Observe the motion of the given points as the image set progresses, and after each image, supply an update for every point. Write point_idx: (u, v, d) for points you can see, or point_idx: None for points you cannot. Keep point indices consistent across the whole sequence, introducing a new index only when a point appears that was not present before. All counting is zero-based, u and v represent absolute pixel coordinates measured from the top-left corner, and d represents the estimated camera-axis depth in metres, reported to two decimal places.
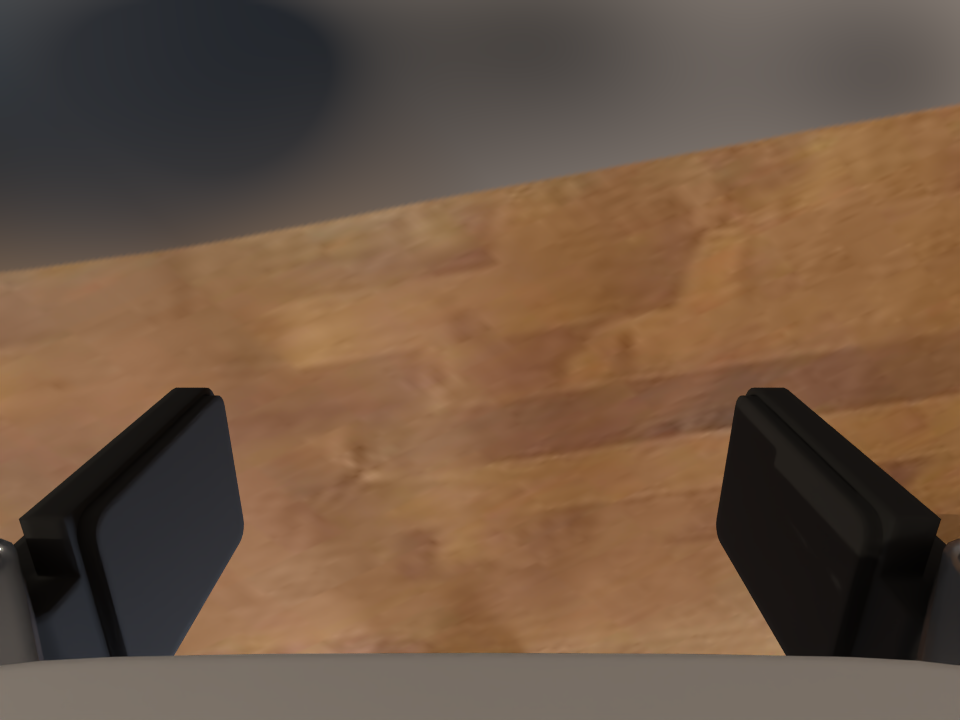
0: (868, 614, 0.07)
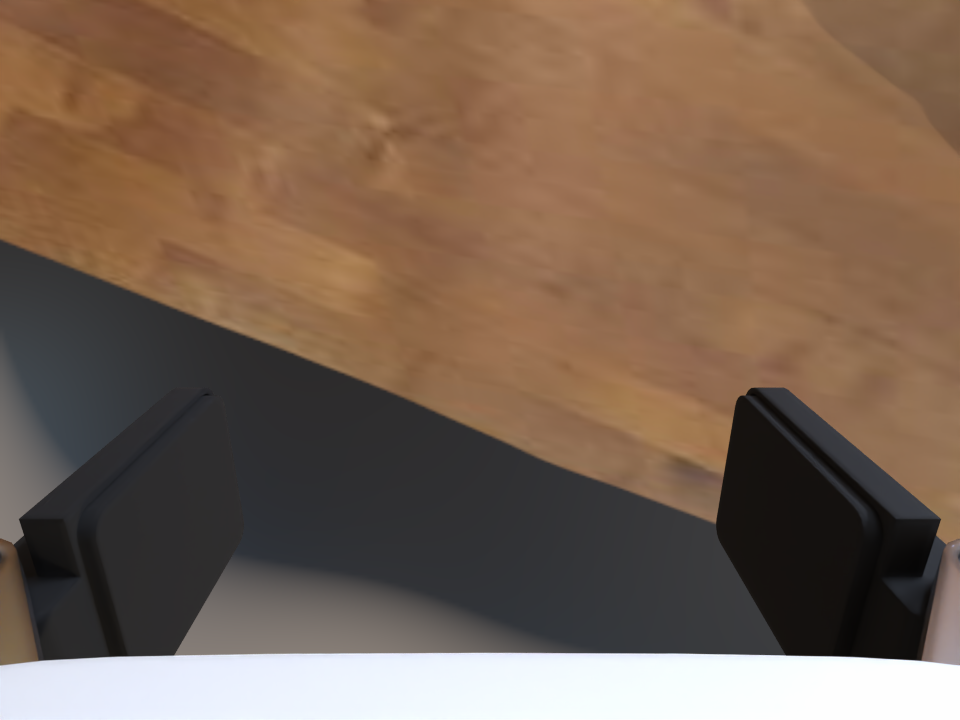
0: (868, 614, 0.07)
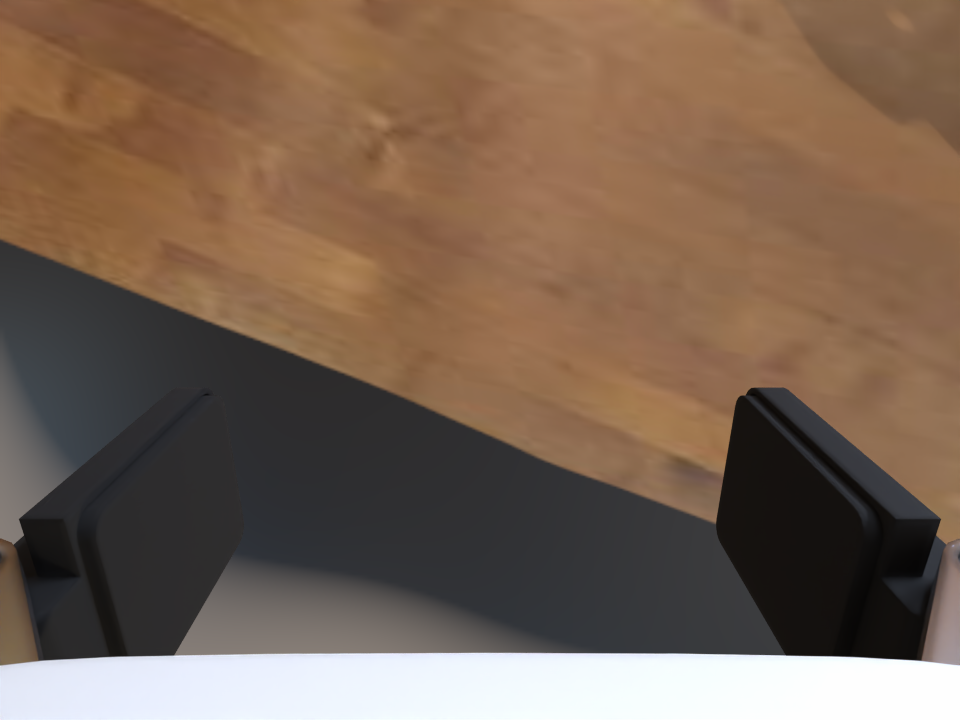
0: (868, 614, 0.07)
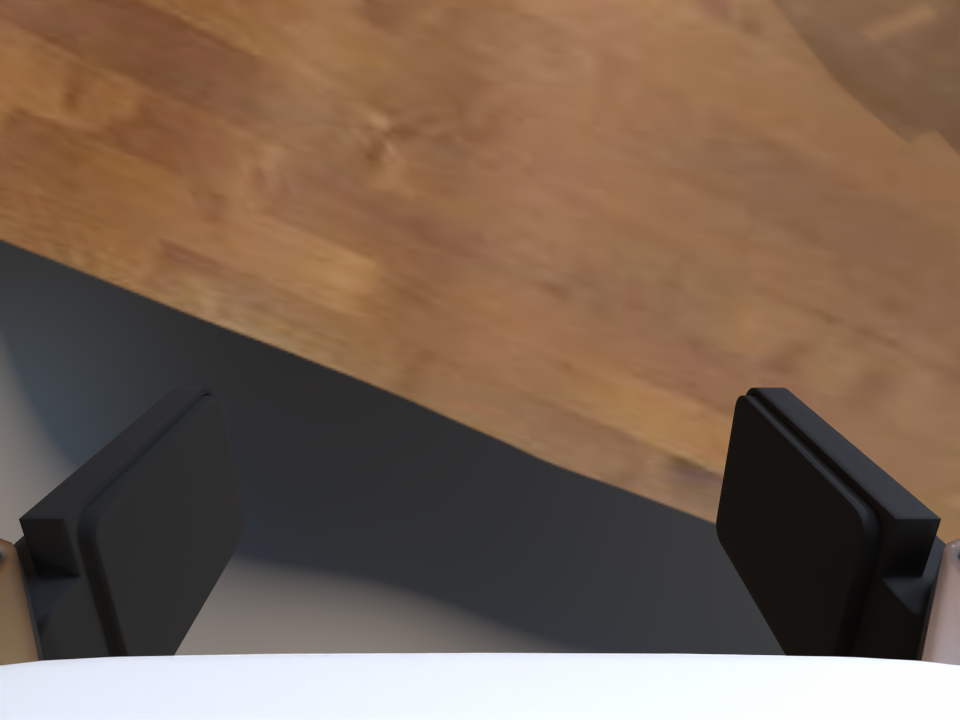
0: (868, 614, 0.07)
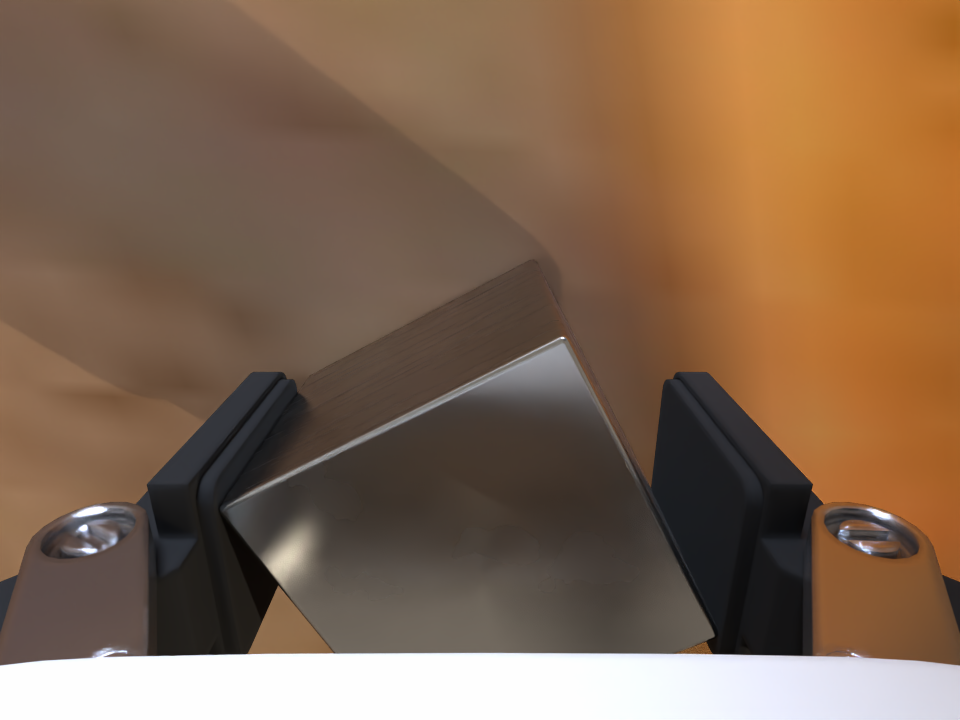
0: (754, 572, 0.08)
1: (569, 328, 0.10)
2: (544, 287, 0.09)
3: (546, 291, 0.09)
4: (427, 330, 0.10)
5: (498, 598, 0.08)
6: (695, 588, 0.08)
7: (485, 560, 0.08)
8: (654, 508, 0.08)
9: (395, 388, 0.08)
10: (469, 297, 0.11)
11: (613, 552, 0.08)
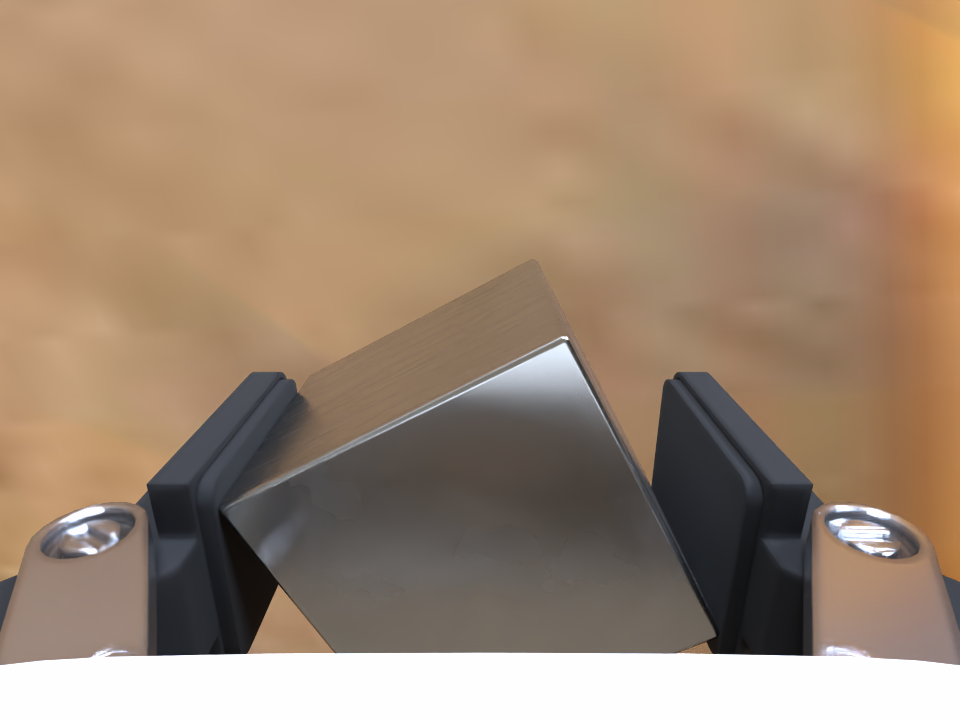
0: (755, 573, 0.08)
1: (570, 328, 0.10)
2: (545, 287, 0.09)
3: (547, 291, 0.09)
4: (428, 330, 0.10)
5: (499, 599, 0.08)
6: (696, 588, 0.08)
7: (486, 560, 0.08)
8: (655, 508, 0.08)
9: (396, 388, 0.08)
10: (469, 297, 0.11)
11: (614, 552, 0.08)
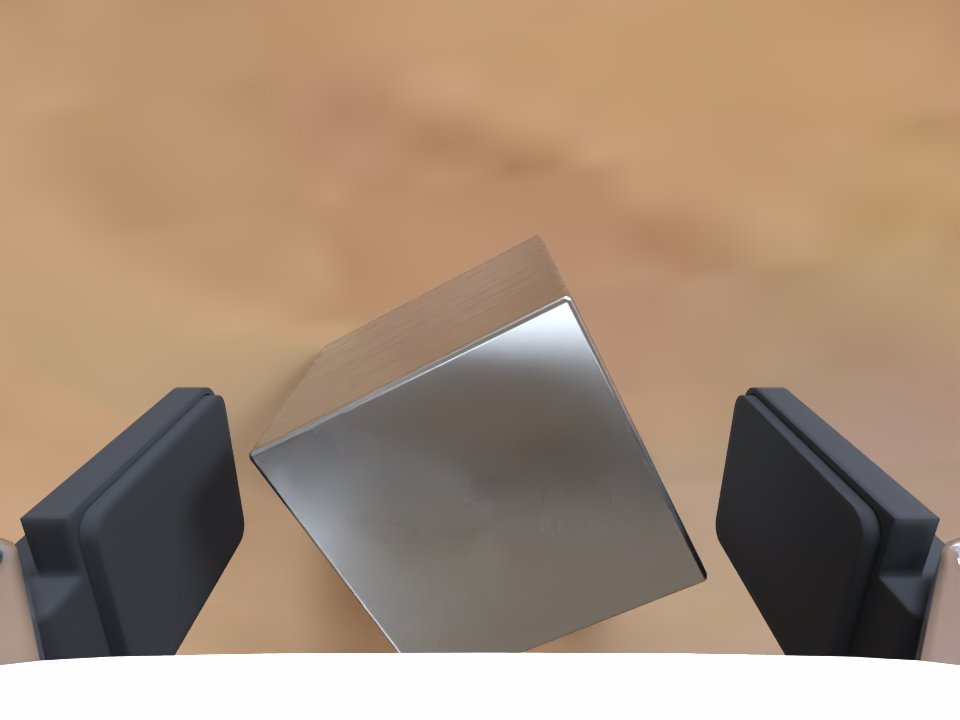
0: (867, 613, 0.07)
1: None
2: (549, 258, 0.10)
3: (550, 261, 0.10)
4: (438, 300, 0.11)
5: (504, 542, 0.09)
6: (686, 534, 0.09)
7: (493, 505, 0.09)
8: (648, 457, 0.09)
9: (410, 348, 0.09)
10: (477, 270, 0.12)
11: (610, 499, 0.09)
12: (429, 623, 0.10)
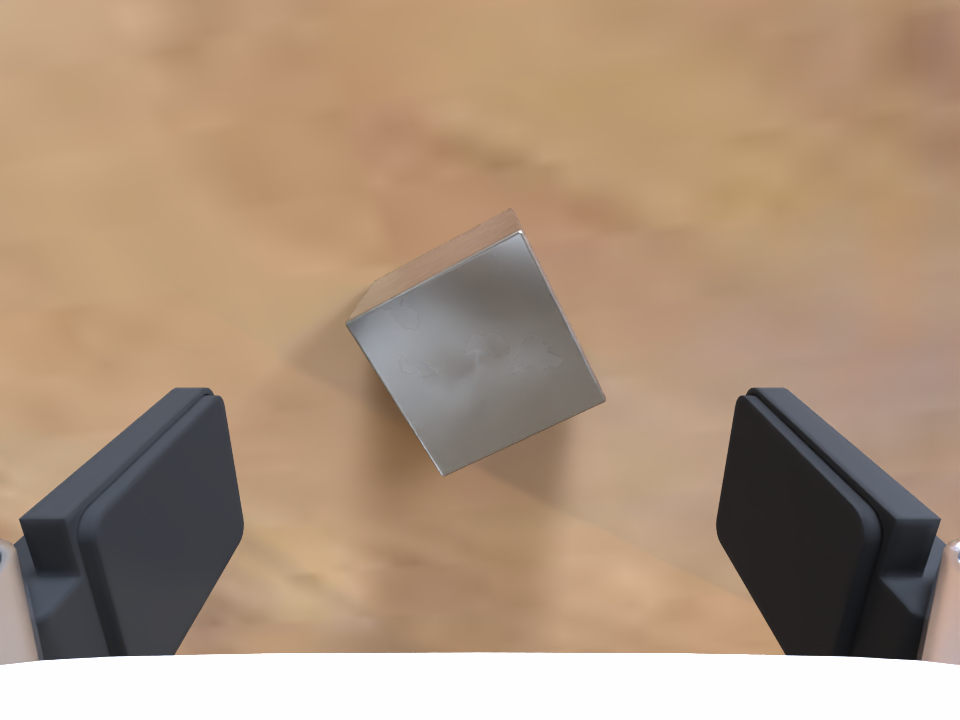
0: (869, 614, 0.07)
1: (531, 246, 0.18)
2: (514, 217, 0.17)
3: (515, 218, 0.16)
4: (448, 246, 0.18)
5: (488, 376, 0.16)
6: (592, 371, 0.16)
7: (481, 353, 0.16)
8: (568, 324, 0.15)
9: (434, 267, 0.16)
10: (473, 229, 0.18)
11: (547, 349, 0.16)
12: (445, 430, 0.16)
